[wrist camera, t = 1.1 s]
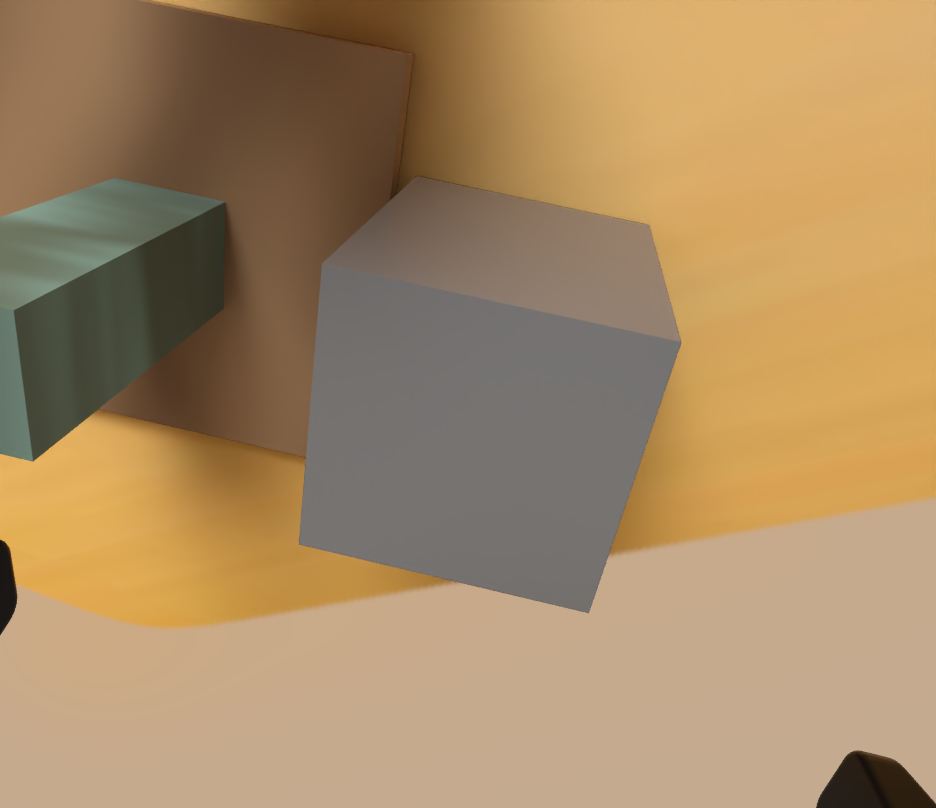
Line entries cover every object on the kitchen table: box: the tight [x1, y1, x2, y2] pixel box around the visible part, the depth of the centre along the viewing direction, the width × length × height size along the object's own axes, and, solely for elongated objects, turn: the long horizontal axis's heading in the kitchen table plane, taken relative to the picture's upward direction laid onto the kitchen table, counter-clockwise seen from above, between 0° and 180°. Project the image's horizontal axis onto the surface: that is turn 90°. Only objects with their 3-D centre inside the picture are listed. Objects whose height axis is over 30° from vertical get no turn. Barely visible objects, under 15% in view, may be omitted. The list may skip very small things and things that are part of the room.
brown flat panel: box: [0, 0, 414, 461], centre depth 15 cm, size 10×10×8 cm
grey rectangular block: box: [299, 176, 681, 613], centre depth 15 cm, size 5×5×7 cm
